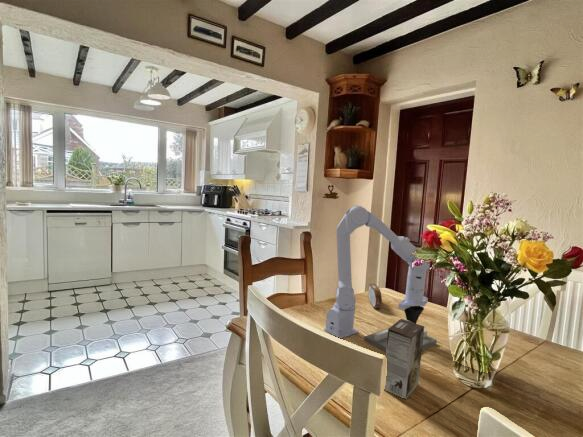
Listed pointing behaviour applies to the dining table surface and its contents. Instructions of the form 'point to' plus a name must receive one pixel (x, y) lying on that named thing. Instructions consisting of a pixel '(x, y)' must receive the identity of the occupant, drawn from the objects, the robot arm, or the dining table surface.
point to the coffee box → (403, 357)
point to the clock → (375, 296)
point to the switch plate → (381, 337)
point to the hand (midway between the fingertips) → (411, 326)
